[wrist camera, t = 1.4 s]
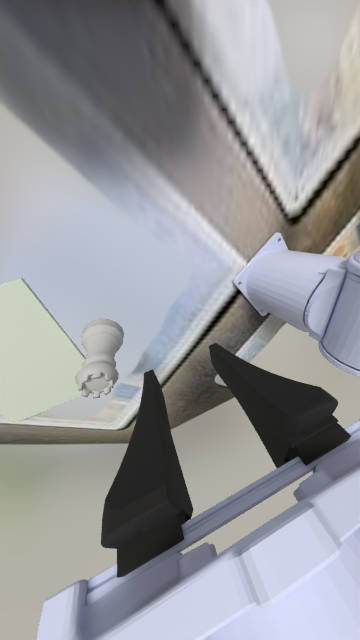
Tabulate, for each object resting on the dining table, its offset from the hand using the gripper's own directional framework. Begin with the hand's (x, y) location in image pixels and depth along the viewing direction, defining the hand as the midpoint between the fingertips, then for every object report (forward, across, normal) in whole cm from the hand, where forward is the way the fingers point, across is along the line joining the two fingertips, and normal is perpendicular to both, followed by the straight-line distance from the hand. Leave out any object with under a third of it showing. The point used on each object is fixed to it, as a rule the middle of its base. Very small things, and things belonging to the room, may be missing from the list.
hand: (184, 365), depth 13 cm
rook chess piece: (+10, +7, 0) cm, 12 cm away
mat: (+9, +16, 0) cm, 19 cm away
